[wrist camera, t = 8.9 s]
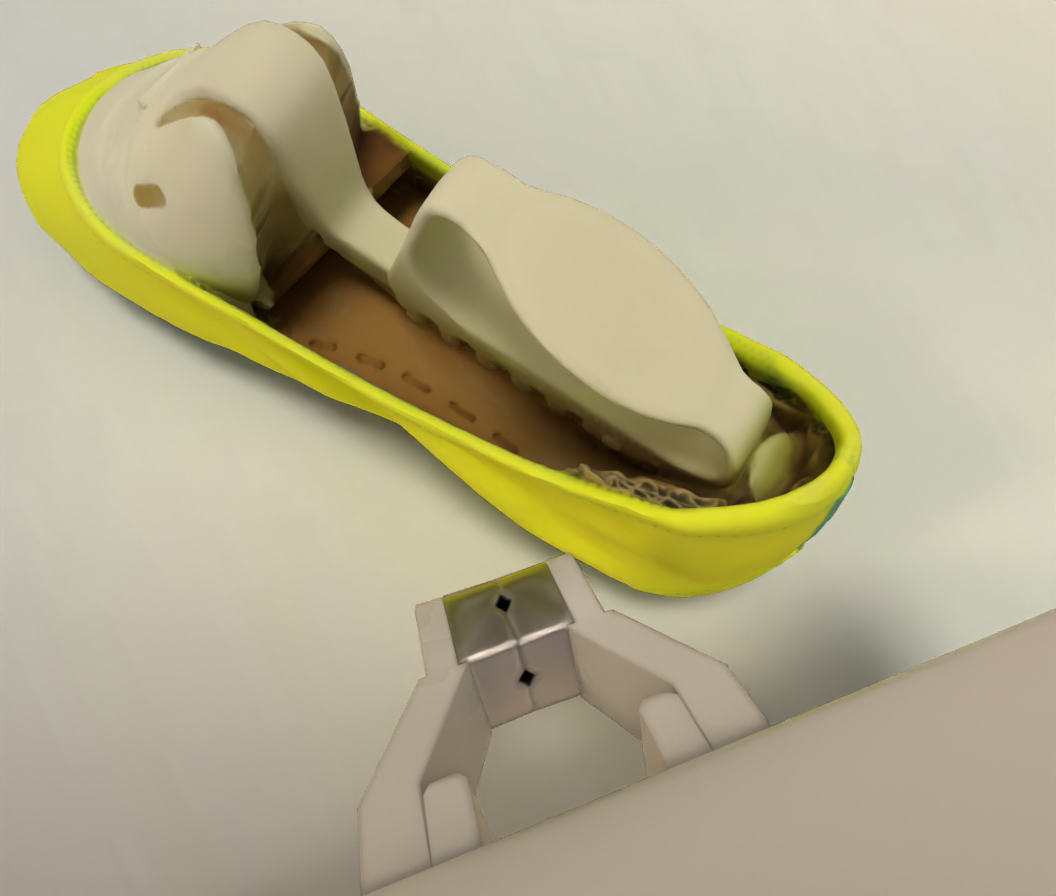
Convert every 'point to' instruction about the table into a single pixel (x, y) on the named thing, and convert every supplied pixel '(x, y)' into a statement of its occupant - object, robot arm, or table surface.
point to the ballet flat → (442, 307)
